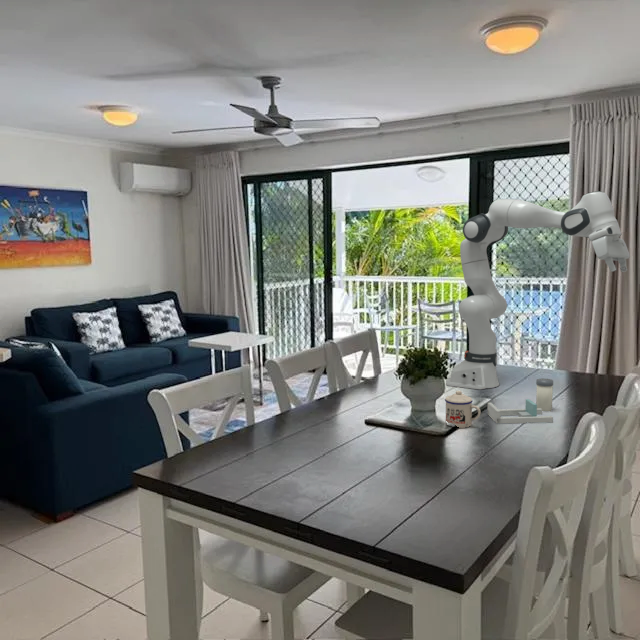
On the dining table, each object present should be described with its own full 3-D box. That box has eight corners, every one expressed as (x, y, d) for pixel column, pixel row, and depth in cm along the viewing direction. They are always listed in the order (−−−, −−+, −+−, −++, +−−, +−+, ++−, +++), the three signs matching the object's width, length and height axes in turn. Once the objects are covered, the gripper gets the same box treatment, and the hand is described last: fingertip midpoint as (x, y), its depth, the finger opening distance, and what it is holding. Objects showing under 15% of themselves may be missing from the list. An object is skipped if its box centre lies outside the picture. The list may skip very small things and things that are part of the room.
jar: (535, 411, 220) (536, 381, 219) (536, 406, 226) (536, 378, 224) (552, 412, 218) (553, 382, 217) (552, 408, 224) (553, 379, 222)
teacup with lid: (441, 426, 205) (441, 392, 203) (450, 419, 213) (450, 386, 211) (475, 431, 199) (476, 396, 197) (484, 424, 206) (484, 390, 205)
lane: (540, 413, 217) (541, 401, 217) (552, 422, 207) (553, 409, 206) (487, 414, 217) (487, 402, 217) (497, 423, 206) (497, 411, 206)
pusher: (528, 414, 216) (529, 399, 215) (536, 420, 208) (536, 404, 208) (516, 414, 215) (516, 399, 215) (523, 420, 208) (524, 405, 207)
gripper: (610, 239, 223) (621, 274, 221) (586, 236, 209) (598, 273, 207) (627, 232, 219) (639, 268, 216) (603, 229, 205) (616, 267, 202)
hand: (619, 271), depth 211 cm, fingers open, 8 cm apart
